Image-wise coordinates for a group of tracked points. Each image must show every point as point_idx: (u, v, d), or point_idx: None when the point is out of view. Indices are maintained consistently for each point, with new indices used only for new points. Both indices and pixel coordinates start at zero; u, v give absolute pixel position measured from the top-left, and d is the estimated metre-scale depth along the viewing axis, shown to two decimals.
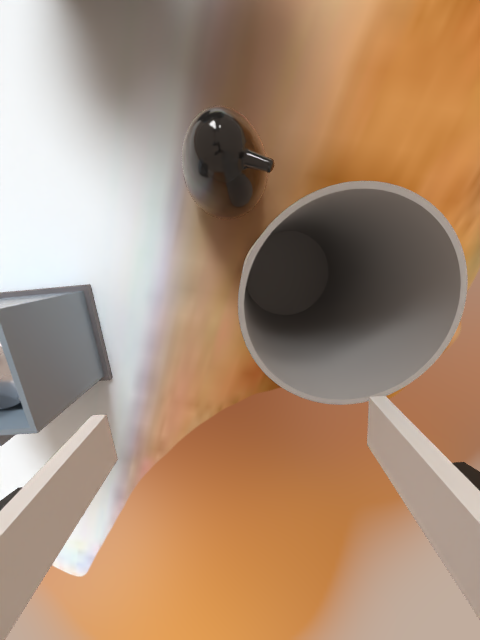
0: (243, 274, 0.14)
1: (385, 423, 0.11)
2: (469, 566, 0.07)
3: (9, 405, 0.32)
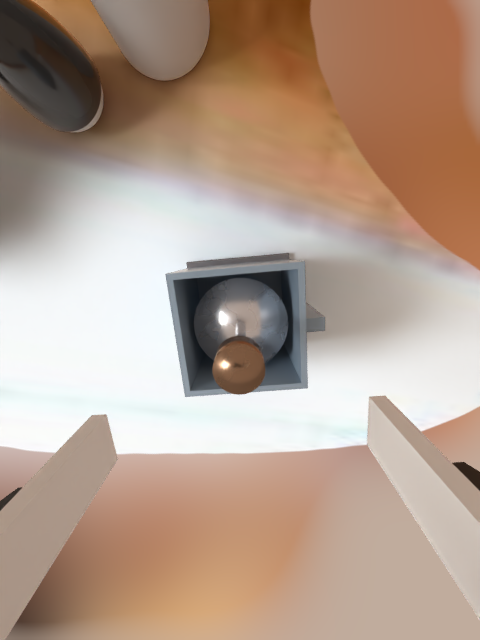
0: None
1: (385, 423, 0.11)
2: (469, 566, 0.07)
3: (284, 312, 0.30)
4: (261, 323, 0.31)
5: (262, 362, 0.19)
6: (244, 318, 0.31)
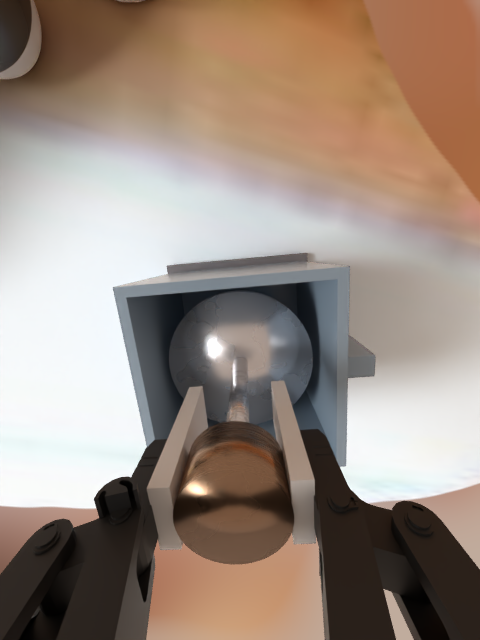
0: None
1: (274, 402, 0.13)
2: None
3: (307, 343, 0.20)
4: (272, 359, 0.20)
5: (288, 505, 0.08)
6: (246, 353, 0.20)
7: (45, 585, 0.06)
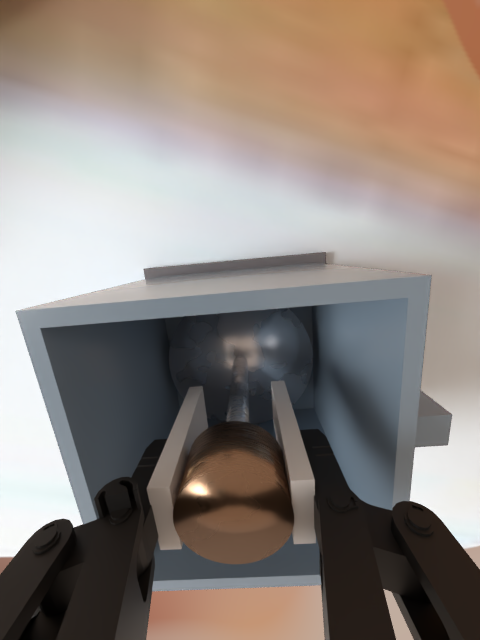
0: None
1: (274, 402, 0.13)
2: None
3: (307, 343, 0.20)
4: (272, 359, 0.20)
5: (287, 505, 0.08)
6: (246, 353, 0.20)
7: (45, 585, 0.06)
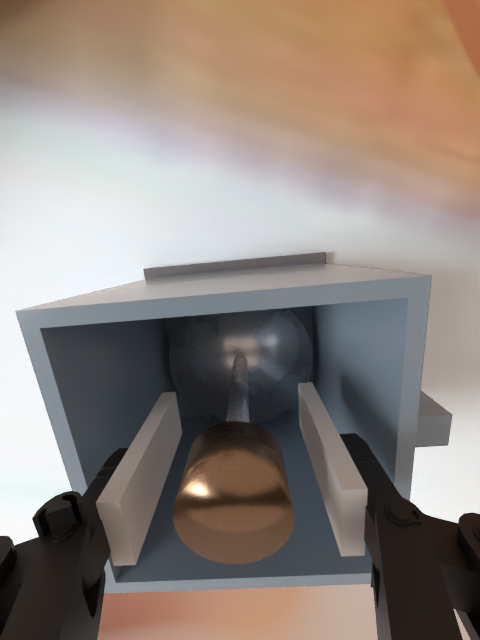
0: None
1: (304, 404, 0.12)
2: (334, 508, 0.09)
3: (307, 343, 0.20)
4: (272, 359, 0.20)
5: (287, 504, 0.08)
6: (246, 353, 0.20)
7: None
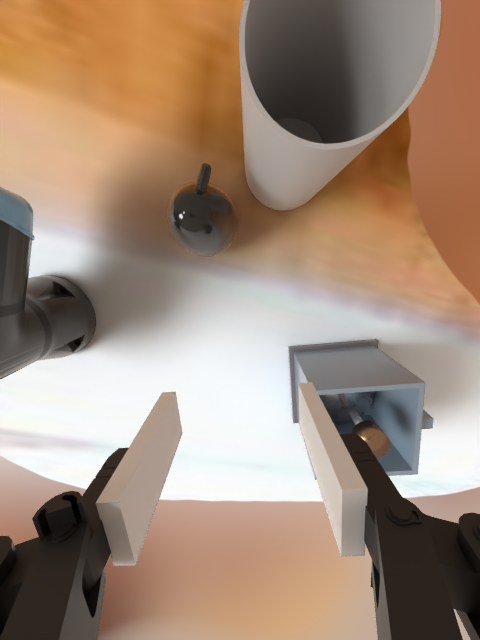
0: (306, 144, 0.17)
1: (304, 404, 0.12)
2: (334, 508, 0.09)
3: None
4: (355, 392, 0.44)
5: (389, 441, 0.32)
6: None
7: None
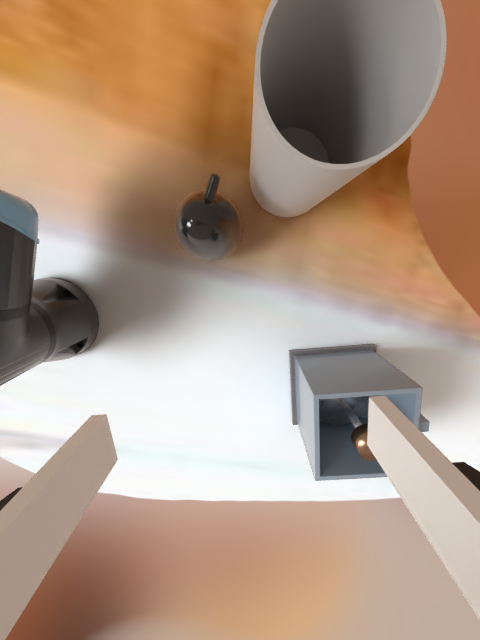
0: (316, 164, 0.18)
1: (385, 423, 0.11)
2: (469, 566, 0.07)
3: None
4: None
5: None
6: None
7: None
